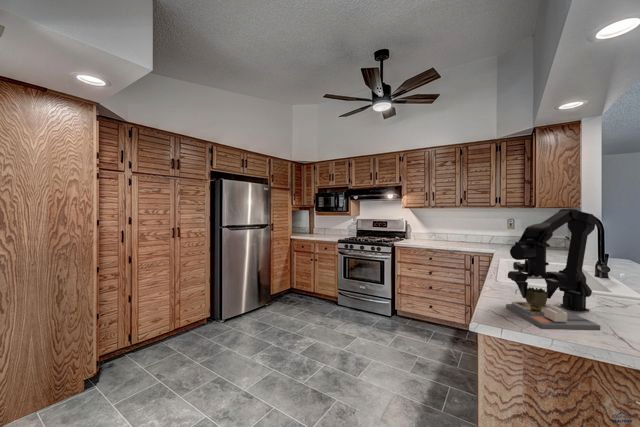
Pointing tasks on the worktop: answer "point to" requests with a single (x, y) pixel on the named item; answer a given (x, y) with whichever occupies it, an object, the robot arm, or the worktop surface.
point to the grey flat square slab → (544, 322)
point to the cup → (536, 298)
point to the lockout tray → (526, 308)
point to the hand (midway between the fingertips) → (536, 298)
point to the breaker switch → (555, 314)
